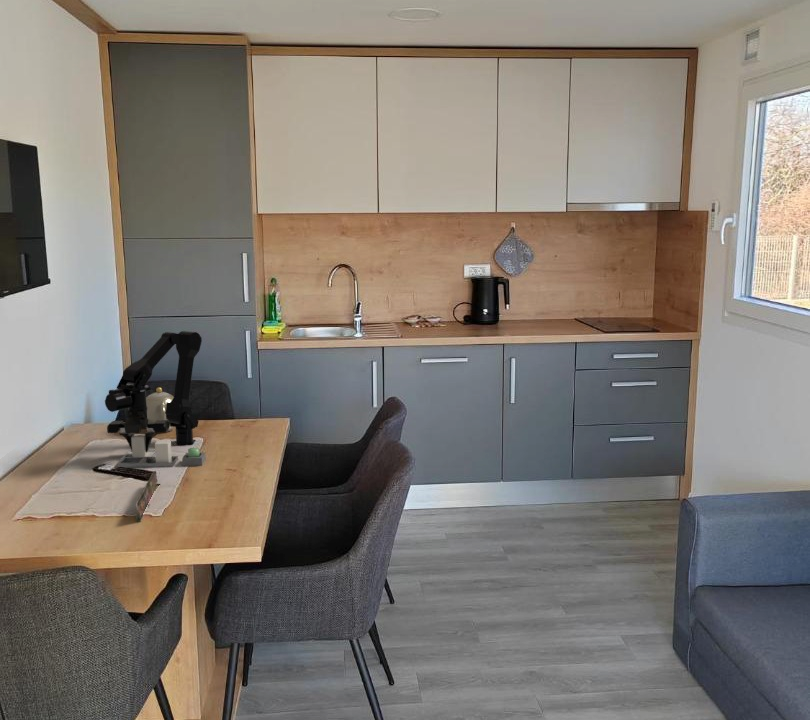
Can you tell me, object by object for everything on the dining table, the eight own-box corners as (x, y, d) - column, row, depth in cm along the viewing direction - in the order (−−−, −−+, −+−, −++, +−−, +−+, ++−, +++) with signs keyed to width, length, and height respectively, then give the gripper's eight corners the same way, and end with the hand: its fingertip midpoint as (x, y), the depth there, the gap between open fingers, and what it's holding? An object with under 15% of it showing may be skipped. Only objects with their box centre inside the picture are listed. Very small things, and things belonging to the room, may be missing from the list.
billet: (135, 454, 264) (134, 434, 263) (148, 454, 264) (147, 434, 263) (132, 458, 260) (131, 437, 259) (145, 458, 260) (143, 437, 259)
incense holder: (141, 522, 206) (140, 503, 206) (136, 523, 206) (135, 503, 205) (160, 485, 236) (159, 468, 235) (156, 485, 236) (154, 468, 235)
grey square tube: (186, 463, 256) (186, 452, 256) (205, 462, 257) (205, 452, 256) (182, 469, 251) (182, 458, 250) (202, 468, 251) (201, 457, 250)
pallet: (124, 463, 256) (123, 456, 256) (178, 462, 257) (178, 455, 257) (116, 471, 248) (116, 464, 248) (172, 470, 249) (172, 463, 249)
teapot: (140, 427, 301) (137, 385, 298) (177, 424, 306) (175, 382, 304) (145, 439, 285) (142, 394, 282) (184, 435, 290) (182, 391, 287)
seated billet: (159, 461, 255) (157, 440, 254) (171, 461, 255) (170, 440, 254) (155, 465, 251) (154, 443, 250) (168, 465, 251) (167, 443, 250)
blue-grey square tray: (129, 453, 267) (129, 450, 267) (159, 453, 268) (159, 449, 267) (120, 462, 257) (120, 459, 257) (152, 462, 258) (151, 458, 258)
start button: (189, 457, 255) (189, 447, 254) (200, 457, 255) (200, 447, 254) (187, 460, 252) (187, 450, 251) (198, 460, 252) (198, 450, 251)
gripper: (100, 411, 251) (103, 459, 254) (160, 410, 252) (163, 458, 255) (111, 403, 262) (114, 449, 265) (168, 403, 263) (171, 448, 266)
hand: (140, 451), depth 262 cm, fingers closed on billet, 4 cm apart
